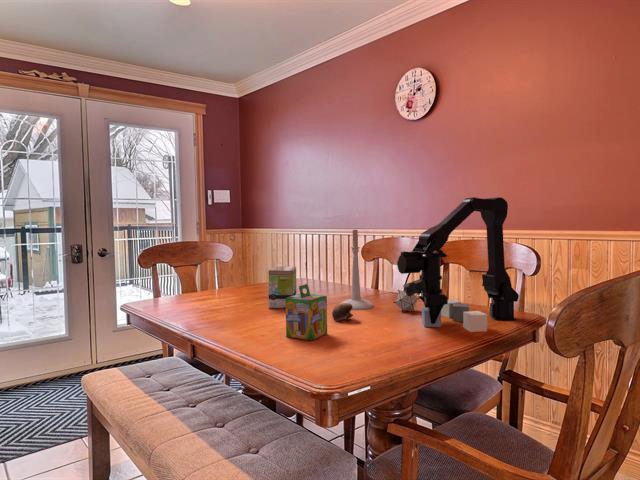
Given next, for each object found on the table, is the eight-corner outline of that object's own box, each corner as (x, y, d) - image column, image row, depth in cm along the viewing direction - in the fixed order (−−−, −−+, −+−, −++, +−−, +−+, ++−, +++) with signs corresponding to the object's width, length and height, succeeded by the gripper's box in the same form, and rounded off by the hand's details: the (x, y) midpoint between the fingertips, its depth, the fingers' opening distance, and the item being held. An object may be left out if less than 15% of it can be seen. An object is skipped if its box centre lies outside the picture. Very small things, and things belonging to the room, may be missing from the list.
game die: (411, 322, 152) (419, 303, 145) (388, 313, 153) (396, 294, 147) (415, 306, 158) (423, 287, 152) (393, 297, 160) (401, 279, 154)
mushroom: (361, 309, 143) (350, 294, 142) (354, 322, 136) (342, 308, 135) (344, 317, 147) (333, 303, 146) (336, 331, 141) (324, 317, 140)
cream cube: (479, 327, 130) (479, 311, 129) (487, 331, 125) (487, 314, 124) (463, 327, 129) (463, 311, 129) (470, 332, 124) (471, 315, 124)
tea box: (294, 308, 161) (293, 269, 161) (268, 308, 161) (267, 270, 161) (297, 300, 176) (296, 265, 176) (273, 301, 176) (272, 265, 176)
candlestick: (378, 304, 165) (377, 228, 163) (363, 311, 154) (362, 229, 153) (349, 301, 172) (348, 228, 170) (333, 307, 161) (332, 229, 160)
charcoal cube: (469, 318, 140) (469, 303, 140) (469, 322, 136) (469, 306, 135) (453, 317, 142) (453, 303, 142) (452, 321, 137) (452, 306, 137)
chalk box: (311, 341, 117) (310, 288, 116) (285, 337, 122) (283, 286, 121) (328, 333, 125) (328, 284, 124) (303, 329, 129) (302, 282, 129)
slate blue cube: (437, 322, 135) (437, 307, 135) (441, 326, 130) (441, 310, 130) (421, 322, 135) (421, 307, 135) (424, 326, 130) (424, 310, 130)
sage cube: (451, 313, 148) (451, 299, 148) (461, 316, 143) (461, 302, 143) (439, 315, 146) (439, 300, 146) (449, 318, 142) (449, 303, 141)
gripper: (401, 268, 142) (401, 314, 142) (409, 276, 123) (409, 329, 124) (434, 268, 141) (435, 314, 142) (448, 276, 122) (448, 329, 123)
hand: (431, 321), depth 132 cm, fingers closed on slate blue cube, 5 cm apart
